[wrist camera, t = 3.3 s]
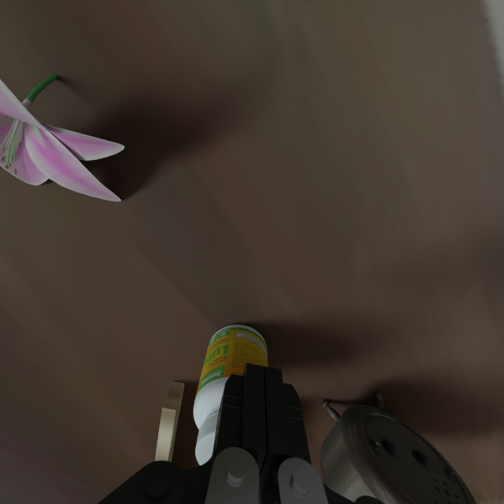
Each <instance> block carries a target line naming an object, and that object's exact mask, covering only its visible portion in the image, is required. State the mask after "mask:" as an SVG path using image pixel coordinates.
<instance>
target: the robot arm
mask: <svg viewBox="0 0 504 504" xmlns="http://www.w3.org/2000/svg"><path fill="white" fill-rule="evenodd" d="M98 504H384V503H383V502H381V501H380V500H378V499H376V498H374V497H372V496H367V495H364V496H360V497H358V498H357V499H356V501H355V502H353V501H351V500H349V499H347V498H345V497H343V496H342V495H340V494H338V493H336V492H334V491H333V490H331V489H330V488H328V487H327V486H326V485H325V484H324V483H323V482H322V480H321V478H320V476H319V474H318V472H317V471H316V470H315V468H314V467H313V466H312V464H311V460H310V454H309V449H308V443H307V438H306V433H305V427H304V422H303V417H302V411H301V406H300V400H299V396H298V394H297V392H296V391H295V389H294V387H293V386H292V385H291V384H286V383H283V377H282V371H281V369H278V368H273V367H267V366H262V365H256V364H251V363H246V364H245V367H244V371H243V375H237V374H231V375H230V377H229V378H228V380H227V381H226V382H225V386H224V391H223V395H222V399H221V403H220V408H219V413H218V419H217V426H216V433H215V439H214V446H213V452H212V457H211V458H210V459H209V460H208V461H207V462H206V463H204V464H203V465H201V466H199V467H196V468H192V469H188V470H183V471H181V470H180V469H179V468H178V466H177V465H175V464H174V463H172V462H170V461H166V460H159V461H154V462H151V463H149V464H147V465H146V466H144V467H143V468H142V469H141V470H139V471H138V472H137V473H136V474H134V475H133V476H132V477H130V478H129V479H128V480H127V481H125V482H124V483H123V484H122V485H120V486H119V487H118V488H117V489H115V490H114V491H113V492H112V493H110V494H109V495H108V496H107V497H105V498H104V499H103V500H102V501H100V502H99V503H98Z"/></svg>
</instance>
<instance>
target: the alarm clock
mask: <svg viewBox="0 0 504 504" xmlns="http://www.w3.org/2000/svg"><path fill="white" fill-rule="evenodd" d="M377 404H378V406H377V407H373V406H367V405H357V406H353V407H350V408H348V409H347V410H346V411H344V413H343V414H342V416H340V415H339V414H338V413H337V412H336V411H335V410H334V409H333V408H332V407H330V406H329V403H328V401H326V400H324V401H323V402H322V406H323V407H325V408H326V410H327V411H328V414H329V415H330V416H331V417H332V418H333V419H334V420H335V422H336V424H335V426H334V427H333V429H332V430H331V432H330V433H329V435H328V436H327V437H326V439H325V440H324V442H323V444H322V448H321V455H320V461H321V470H322V475H323V479H324V483H325V485H326V486H327V487H328V488H330V489H331V490H333V491H334V492H336V493H338V494H340V495H342V496H343V497H345V498H347V499H349V500H351V501H353V502H355V501H356V499H357V498H358V497H360V496H364V495H367V496H372V497H374V498H376V499H378V500H380V501H381V502H383V503H384V504H477V503H476V501H475V500H474V498H473V496H472V494H471V493H470V491H469V489H468V488H467V486H466V485H465V483H464V482H463V480H462V479H461V478H460V476H459V475H458V473H457V472H456V471H455V470H454V468H453V467H452V466H451V465H450V463H449V462H448V461H447V460H446V459H445V458H444V457H443V456H442V454H441V453H440V452H439V451H438V450H437V449H436V448H435V447H434V446H433V445H432V444H431V443H430V442H429V441H427V440H426V439H425V438H424V437H423V436H422V435H421V434H419V433H418V432H417V431H416V430H415V429H413V428H412V427H411V426H409V425H408V424H407V423H405V422H404V421H402V420H401V419H399V418H397V417H396V416H394V415H392V414H390V413H389V412H387V411H386V409H385V405H384V402H383V397H382V395H381V394H380V393H377Z"/></svg>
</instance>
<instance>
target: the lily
mask: <svg viewBox="0 0 504 504" xmlns="http://www.w3.org/2000/svg"><path fill="white" fill-rule="evenodd" d="M56 78H57V76H56V75H55V74H52V75H51V76H49V77H48V78H46V79H45V80H44V81H42V82H41V83H40V84H39V85H37V86H36V87H35V88H34V90H33V91H32V92H31V93H30V94H29V95H28V96H27V98H26V99H25V100H24V101H23V102H22V103H20V102H19V100H18V99H17V98H16V97H15V96H14V95H13V94H12V92H11V91H10V90H9V89H8V88H7V87H6V85H5V84H4V83H3V82H2V81H1V80H0V166H1V167H2V168H4V169H5V170H6V171H8V172H9V173H10V174H12V175H13V176H15V177H17V178H18V179H20V180H22V181H24V182H26V183H28V184H32V185H40V184H42V183H44V182H45V181H47V180H48V179H51V180H52V181H54V182H56V183H58V184H59V185H61V186H63V187H66V188H68V189H71V190H73V191H76V192H79V193H82V194H86V195H89V196H92V197H96V198H101V199H105V200H110V201H121V199H120V198H119V197H118V196H116V195H115V194H114V193H112V192H111V191H110V190H109V189H107V188H106V187H105V186H104V185H102V184H101V183H100V182H99V181H98V180H97V179H96V178H95V177H94V176H93V175H92V174H91V173H90V172H89V171H88V170H87V169H86V168H85V167H84V166H83V165H82V164H81V163H80V162H79V161H78V160H85V161H88V160H97V159H101V158H105V157H108V156H111V155H114V154H116V153H118V152H120V151H122V150H123V149H124V147H125V146H123V145H121V144H119V143H115V142H111V141H107V140H103V139H100V138H96V137H92V136H88V135H84V134H81V133H77V132H73V131H70V130H66V129H62V128H59V127H55V126H52V125H49V124H46V123H43V122H40V121H39V120H38V119H37V118H36V117H35V116H34V115H33V114H32V112H31V109H30V106H31V104H32V102H33V101H34V99H35V97H36V96H37V95H38V94H39V93H40V92H41V91H42V90H43V89H44V88H45V87H46V86H48V85H49V84H50V83H51V82H53V81H54V80H55V79H56Z"/></svg>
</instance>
